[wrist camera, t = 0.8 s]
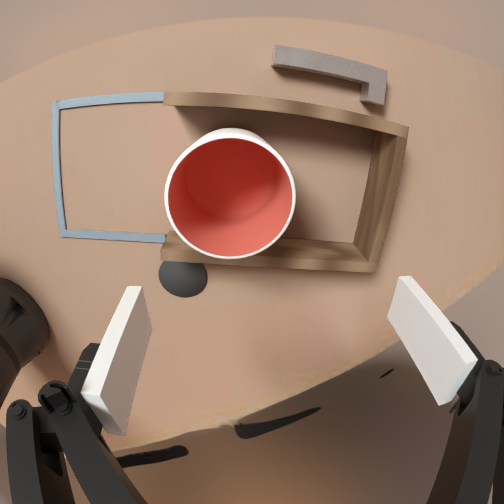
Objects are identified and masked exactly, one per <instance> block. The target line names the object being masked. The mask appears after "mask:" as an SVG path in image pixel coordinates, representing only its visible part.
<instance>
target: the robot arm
mask: <svg viewBox="0 0 504 504" xmlns="http://www.w3.org/2000/svg"><path fill="white" fill-rule="evenodd" d="M387 318H388V319H389V321H390V323H391V324H392V326H393V327H394V329H395V331H396V332H397V334H398V335H399V337H400V339H401V340H402V342H403V344H404V345H405V347H406V349H407V350H408V352H409V354H410V355H411V357H412V359H413V361H414V362H415V364H416V366H417V367H418V369H419V371H420V373H421V374H422V376H423V378H424V380H425V382H426V383H427V385H428V387H429V389H430V391H431V392H432V394H433V396H434V398H435V399H436V401H437V403H438V405H442V404H444V403H447V402H450V401H451V400H452V399H453V397H454V396H455V395H456V393H457V394H458V396H459V399H458V400H457V402H456V403H455V404H454V406H453V407H452V408H451V410H450V412H449V413H452V411H453V410H454V409H455V413H454V417H453V422H452V426H451V430H450V434H449V438H448V442H447V445H446V449H445V453H444V456H443V459H442V462H441V465H440V468H439V471H438V474H437V477H436V480H435V483H434V485H433V488H432V491H431V493H430V496H429V499H428V501H427V503H426V504H487V503H488V499H489V495H490V491H491V486H492V483H493V495H492V504H504V368H502V367H501V366H500V365H499V364H498V363H497V362H495V361H493V360H485V359H484V358H483V356H482V355H481V354H480V352H479V351H478V349H477V348H476V347H475V345H474V344H473V343H472V342H471V341H470V339H469V338H468V336H467V335H466V334H465V333H464V331H463V330H462V329H461V328H460V327H459V326H458V325H457V324H455V323H454V322H449V321H448V319H447V318H446V317H445V316H444V315H443V313H442V312H441V311H440V310H439V308H438V307H437V306H436V305H435V304H434V302H433V301H432V300H431V299H430V298H429V297H428V295H427V294H426V293H425V292H424V291H423V290H422V288H421V287H420V286H419V285H418V284H417V283H416V282H415V280H414V279H413V278H412V277H411V276H399V278H398V282H397V286H396V289H395V293H394V296H393V300H392V303H391V306H390V310H389V313H388V316H387ZM151 332H152V326H151V322H150V318H149V314H148V310H147V306H146V301H145V297H144V293H143V288H142V286H128V287H127V289H126V291H125V293H124V295H123V297H122V299H121V301H120V303H119V305H118V307H117V309H116V311H115V313H114V315H113V318H112V320H111V322H110V324H109V326H108V328H107V331H106V333H105V335H104V337H103V339H102V342H101V344H97V343H90V344H89V345H88V346H87V347H86V348H85V349H84V350H83V352H82V354H81V356H80V358H79V361H78V362H77V365H76V369H74V371H73V373H72V376H71V378H70V380H69V383H68V385H66V384H65V383H63V382H61V381H51V382H48V383H47V384H45V385H44V386H43V387H42V388H41V389H40V391H39V394H38V401H39V402H40V404H41V405H42V406H41V407H32V406H31V405H30V403H29V402H28V401H26V400H23V399H19V400H16V401H14V402H13V403H12V404H10V406H9V408H8V409H7V414H6V441H7V442H6V443H7V462H8V473H9V483H10V490H11V497H12V503H13V504H75V501H74V497H73V493H72V490H71V486H70V482H69V477H68V473H67V468H66V463H65V458H64V453H65V455H66V458H67V460H68V462H69V464H70V466H71V468H72V470H73V472H74V474H75V476H76V478H77V480H78V482H79V484H80V486H81V488H82V489H83V491H84V493H85V495H86V496H87V498H88V500H89V502H90V503H91V504H147V502H146V501H145V500H144V498H143V497H142V496H141V494H140V493H139V492H138V490H137V489H136V488H135V487H134V485H133V483H132V482H131V481H130V479H129V478H128V476H127V475H126V474H125V472H124V470H123V469H122V467H121V466H120V464H119V463H118V461H117V460H116V458H115V457H114V455H113V454H112V452H111V450H110V448H109V447H108V445H107V443H106V442H105V440H104V438H103V437H102V435H101V430H102V427H104V429H105V430H106V432H107V433H110V434H116V435H122V436H125V433H126V428H127V424H128V420H129V415H130V411H131V407H132V403H133V399H134V394H135V390H136V387H137V383H138V379H139V375H140V371H141V367H142V364H143V360H144V356H145V353H146V349H147V346H148V342H149V339H150V335H151ZM49 337H50V332H49V327H48V324H47V321H46V319H45V316H44V315H43V313H42V311H41V309H40V308H39V306H38V305H37V304H36V302H35V301H34V300H33V299H32V298H31V297H30V296H29V295H28V294H27V293H26V292H25V291H24V290H23V289H22V288H21V287H19V286H18V285H16V284H15V283H13V282H11V281H9V280H6V279H2V278H0V409H1V406H2V404H3V402H4V400H5V398H6V396H7V394H8V392H9V390H10V388H11V386H12V384H13V382H14V381H15V379H16V377H17V375H18V373H19V371H20V370H21V368H22V367H24V366H25V365H26V364H27V363H29V362H30V361H31V360H32V359H33V358H34V357H36V356H38V355H39V354H41V353H42V351H43V350H44V348H45V347H46V345H47V343H48V341H49ZM63 452H64V453H63Z"/></svg>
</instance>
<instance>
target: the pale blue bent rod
mask: <svg viewBox="0 0 504 504" xmlns="http://www.w3.org/2000/svg"><path fill="white" fill-rule="evenodd" d="M163 98H164V92H144V93H125V94H111V95H100V96H91V97H82V98H75V99H68V100H61V101H55V102H52V161H53V178H54V190H55V200H56V209H57V217H58V224H59V231H60V237H73V238H90V239H107V240H124V241H140V242H157V243H164V241H165V239H166V234H152V233H134V232H116V231H96V230H76V229H66V223H65V215H64V207H63V197H62V186H61V171H60V145H59V120H60V109H63V108H71V107H79V106H88V105H98V104H110V103H125V102H149V101H163Z"/></svg>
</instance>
